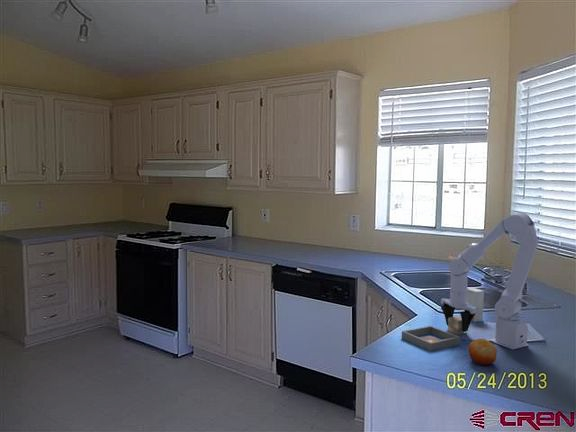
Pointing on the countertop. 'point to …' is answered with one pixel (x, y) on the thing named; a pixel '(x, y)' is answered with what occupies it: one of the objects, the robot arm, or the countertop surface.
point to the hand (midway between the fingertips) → (457, 328)
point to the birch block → (455, 325)
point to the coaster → (430, 339)
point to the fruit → (482, 352)
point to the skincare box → (476, 302)
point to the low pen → (412, 337)
